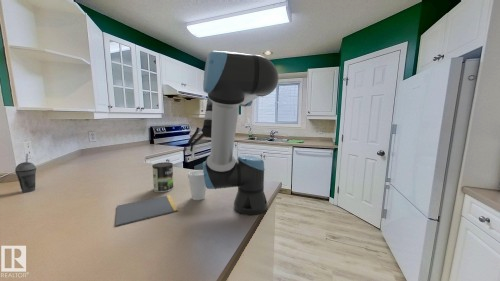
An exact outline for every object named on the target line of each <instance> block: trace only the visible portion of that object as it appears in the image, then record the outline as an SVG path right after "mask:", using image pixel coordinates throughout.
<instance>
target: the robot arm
mask: <svg viewBox="0 0 500 281" xmlns="http://www.w3.org/2000/svg"><path fill="white" fill-rule="evenodd" d="M202 83H203V84H202V85H203V88H202V89H203V92H204V93H205V94H207V98H206V106H205V111H204V112H205V113H204V120H203V125H202V128H201V127H199V126H198V127H197V126H196V129H195V131H194V132H193V134H192V136H191V137H190V139H188V141H187V144H189V145H190V150H189V151H190V152H191V154H190V156H191V157H190V158H191V159H194V158H195V152H196V151H195V150H196V144H197V143H198V142H199V141H200V142H201V140H202V139H203V138H204V137H205V138H206V139H207V138H210V154H209V155H208V156H207V158H206V160H205V161H203V162H202V170H203V173H204V181H205V186H206V189H208V190H217V189H228V188H237V193H236V195H235V198H234V200H233V209H234V210H235V211H236V212H237V213H239V214H242V215H248V216H257V215H260V214H263V213H265V212H266V211H267V209H268V201H267V197H266V195H265V191H264V189H265V187H264V186H265V162H264V160H263V159H262V158H260V157H257V156H253V155H244V154H242V155H238V157H237V159H235V157H234V156H233V155H234V147H235V138H236V130H237V129H236V128H237V122H238V114H239V107H243V108H244V107H251V106H252V105H253V100H255V99H257V98H259V97H266V96H268V95H270V94H271V93H273V92H274V91H275V89H276V88H277V86H278V84H279V73H278V69H277V68H276V66H275V65H274V63H273V62H272V61H271V60H270V59H268V58H267V57H265V56H262V55H259V54H248V53H241V52H233V51H226V50H224V51H222V50H220V51H219V50H218V51H217V50H213V51H210V52H209V53H208V55H207V57H206V60H205V66H204V72H203V82H202ZM200 132H202V133H201V134H200V135H199V136H198V134H199V133H200ZM197 136H198V137H197ZM196 137H197V138H196Z"/></svg>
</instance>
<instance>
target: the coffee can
mask: <svg viewBox="0 0 500 281" xmlns="http://www.w3.org/2000/svg"><path fill="white" fill-rule="evenodd" d="M173 166H174V164H173V162H168V161H166V162H158V163H154V164H152V178H153V180H152V181H153V183H152V184H153V192H155V193H168V192H170V191H172V190H173V189H174V188H175V186H174V170H173V169H174V167H173Z"/></svg>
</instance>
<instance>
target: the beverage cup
mask: <svg viewBox="0 0 500 281" xmlns="http://www.w3.org/2000/svg"><path fill="white" fill-rule="evenodd" d="M25 157H26V160H25V161H24V162H20V163H18V164H17V165H16V167H15V169H14V170H15V171H14V172H15V174H16V176H17V179H18V183H19V186H20V190H21V191H22V193H23V194H25V193H31V192H35V191H36V171H37V167H36V165H35V164H34V163H32V162H29V161H28V157H29V153H26V156H25Z"/></svg>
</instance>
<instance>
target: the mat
mask: <svg viewBox="0 0 500 281" xmlns="http://www.w3.org/2000/svg"><path fill="white" fill-rule="evenodd" d="M116 207H117V208H116V217H115V227H120V226H124V225H129V224H132V223H136V222H140V221H143V220H148V219H151V218H156V217H160V216H164V215H168V214H172V213H176V212H178V211H179V209H178V207H177V206H176V203H175V201H174V200H173V198H172V196H171V195H170V194H168V195H164V196H158V197H154V198H149V199H144V200H138V201H134V202H129V203H123V204H118V205H116Z"/></svg>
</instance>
